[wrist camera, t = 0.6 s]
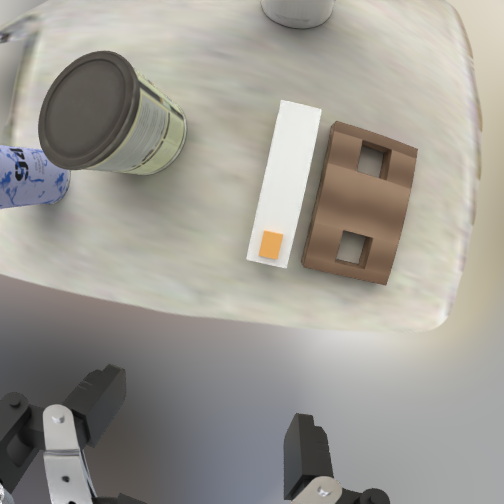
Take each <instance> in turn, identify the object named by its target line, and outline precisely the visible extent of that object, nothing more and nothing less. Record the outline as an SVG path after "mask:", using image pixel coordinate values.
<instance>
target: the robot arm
mask: <svg viewBox="0 0 504 504" xmlns="http://www.w3.org/2000/svg"><path fill="white" fill-rule="evenodd" d="M334 3H335V0H261V6H262V9H263V11H264V12H265V14H266V15H267V16H268V17H269V18H270V19H272V20H273V21H275V22H276V23H279V24H281V25H284V26H288V27H292V28H311V27H315V26H318V25H321V24H322V23H324V22H325V21H326V20H327V19H328V18H329V17H330V15H331V12H332V9H333V6H334ZM125 396H126V377H125V369H123V368H120V367H117V366H115V365H112V364H109V365H108V366H107V367H106V368H105V369H104V370H103V371H100V370H96V371H93V372H91V373H89V374H88V375H87V376H86V377H85V378H84V380H83V381H82V382H81V383H80V384H79V386H77V387H76V388H75V390H74V391H73V392H72V393H71V394H70V395H69V396H68V397H67V399H66V400H65V401H64V402H63V403H62V404H61V405H51V406H49V407H47V408H46V409H44V408H40V407H37V406H33V405H30V404H29V403H28V400H27V398H26V397H25V396H24V395H23V394H20V393H17V392H12V393H9V394H7V395H5V396H4V397H3V398H2V399H1V400H0V504H14V501H13V498H12V496H11V493H12V492H13V490H14V489H15V487H16V485H17V484H18V482H19V481H20V479H21V478H22V476H23V474H24V473H25V471H26V470H27V468H28V467H29V465H30V464H31V462H32V461H33V459H34V457H35V456H36V455H37V453H38V452H39V450H40V449H42V450H45V451H46V452H44V463H45V470H46V476H47V481H48V486H49V492H50V496H51V501H52V504H146V503H145V502H141V501H139V500H136V499H134V498H131V497H129V496H126V495H123V494H121V493H120V494H119V496H118V498H116V497H97V496H96V493H95V490H94V487H93V485H92V482H91V478H90V475H89V471H88V468H87V464H86V460H85V456H84V451H83V449H84V447H85V446H86V444H87V445H89V446H91V447H93V448H94V447H95V446H96V444H97V442H98V441H99V439H100V438H101V436H102V435H103V433H104V432H105V430H106V428H107V427H108V425H109V424H110V422H111V421H112V419H113V418H114V416H115V414H116V413H117V411H118V410H119V408H120V407H121V405H122V404H123V402H124V400H125ZM284 500H291V503H290V504H390V501H389V497H388V496H387V494H386V493H385V492H384V491H382V490H380V489H375V488H372V489H368V490H366V491H364V492H363V493H358V492H354V491H350V490H346V489H344V488H342V487H341V485H340V483H339V482H338V481H337V480H335V479H334V476H333V471H332V464H331V458H330V453H329V446H328V440H327V435H326V433H325V432H324V430H323V429H322V427H319V426H314V420H313V416H312V415H306V414H299V413H296V414H295V416H294V418H293V420H292V422H291V424H290V427H289V429H288V431H287V433H286V436H285V439H284Z"/></svg>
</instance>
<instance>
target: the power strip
mask: <svg viewBox="0 0 504 504" xmlns="http://www.w3.org/2000/svg"><path fill="white" fill-rule="evenodd" d="M321 112H322V109H318V108H315V107H311V106H307V105H302V104H298V103H294V102H289V101H285V100H281V104H280V108H279V113H278V117H277V122H276V126H275V130H274V135H273V139H272V144H271V148H270V153H269V157H268V162H267V166H266V171H265V175H264V180H263V184H262V189H261V193H260V198H259V202H258V207H257V212H256V216H255V221H254V225H253V230H252V234H251V239H250V243H249V248H248V253H247V257H246V260H250V261H254V262H259V263H263V264H268V265H272V266H277V267H281V268H285V269H286V268H287V264H288V260H289V256H290V252H291V248H292V244H293V240H294V235H295V231H296V227H297V223H298V219H299V214H300V210H301V206H302V201H303V197H304V193H305V188H306V184H307V179H308V175H309V170H310V165H311V161H312V156H313V151H314V146H315V142H316V137H317V132H318V127H319V122H320V117H321Z"/></svg>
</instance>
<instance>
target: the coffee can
mask: <svg viewBox="0 0 504 504" xmlns="http://www.w3.org/2000/svg"><path fill="white" fill-rule="evenodd" d="M186 132H187V125H186V119H185V116H184V113H183V111H182V109H181V108H180V107H179V106H178V105H177V104H176V103H175V102H174V101H172V100H171V99H169V98H168V97H167V96H166V95H165V94H164V93H163V92H161V91H160V90H159V89H158V88H157V87H155V86H154V85H153V84H152V83H151V82H150V81H149V80H147V79H146V78H145V77H144V76H143V75H141V74H140V73H139V72H138V71H137V70H135V69H134V68H133V67H132V66H131V64H130V63H129V62H128V61H127V60H126V59H125V58H124V57H122V56H121V55H119V54H117V53H115V52H111V51H97V52H92V53H89V54H86V55H84V56H82V57H80V58H78V59H77V60H75V61H74V62H72V63H71V64H70V65H69V66H67V67H66V68H65V69H64V70H63V71H62V72H61V73H60V75H59V76H58V77H57V78H56V79H55V81H54V82H53V84H52V85H51V87H50V89H49V90H48V92H47V94H46V96H45V99H44V101H43V104H42V107H41V111H40V116H39V124H38V133H39V140H40V145H41V148H42V150H43V152H44V154H45V156H46V157H47V159H48V160H49V161H50V162H51V163H52V164H54V165H55V166H57V167H59V168H62V169H65V170H81V169H85V170H98V171H110V172H122V173H132V174H136V175H150V174H154V173H157V172H159V171H161V170H163V169H165V168H166V167H168V166H169V165H170V164H171V163H172V162H173V161H174V160H175V159H176V157H177V156H178V155H179V153H180V151H181V149H182V147H183V145H184V142H185V139H186Z"/></svg>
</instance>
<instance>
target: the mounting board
mask: <svg viewBox="0 0 504 504" xmlns="http://www.w3.org/2000/svg"><path fill="white" fill-rule="evenodd" d="M362 145H363V146H366V147H369V148H372V149H375V150H378V151H381V152H384V156H383V162H382V167H381V173H380V178H376V177H373V176H370V175H367V174H364V173H360V172H357V167H358V162H359V157H360V152H361V146H362ZM417 151H418V149H416V148H414V147H411V146H409V145H406V144H403V143H401V142H398V141H396V140H393V139H390V138H387V137H385V136H382V135H379V134H376V133H373V132H370V131H367V130H364V129H361V128H358V127H355V126H352V125H348V124H345V123H342V122H338V121H336V122H335V123H334V124H333V125H332V127H331V132H330V137H329V142H328V147H327V152H326V157H325V162H324V167H323V171H322V176H321V181H320V185H319V190H318V194H317V199H316V203H315V207H314V211H313V216H312V220H311V224H310V228H309V232H308V236H307V241H306V245H305V249H304V252H303V256H302V260H301V262H302V265H303V267H306V268H310V269H315V270H319V271H324V272H328V273H333V274H337V275H342V276H346V277H350V278H355V279H359V280H364V281H368V282H373V283H377V284H382V285H386V284H387V281H388V278H389V275H390V272H391V268H392V265H393V261H394V258H395V254H396V251H397V247H398V243H399V240H400V236H401V232H402V228H403V224H404V220H405V215H406V211H407V206H408V202H409V197H410V192H411V187H412V182H413V176H414V170H415V164H416V158H417ZM343 230H345V231H349V232H353V233H357V234H361V235H364V236H366V239H365V242H364V246H363V250H362V254H361V257H360V261H359V264H355V263H351V262H346V261H342V260H338V259H336V256H337V253H338V249H339V245H340V241H341V237H342V233H343Z"/></svg>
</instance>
